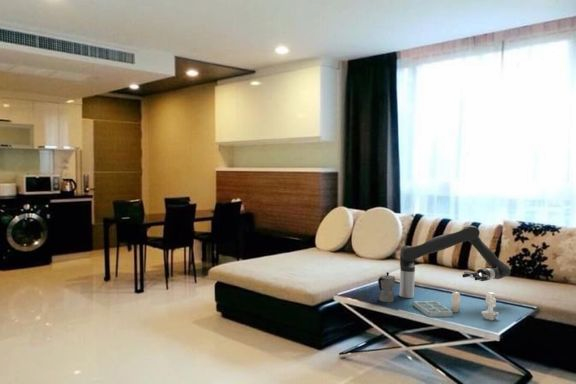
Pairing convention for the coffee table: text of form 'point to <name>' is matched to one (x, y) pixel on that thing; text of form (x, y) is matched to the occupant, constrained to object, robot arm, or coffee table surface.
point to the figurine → (490, 307)
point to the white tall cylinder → (455, 302)
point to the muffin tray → (432, 308)
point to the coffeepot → (386, 288)
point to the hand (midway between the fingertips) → (469, 277)
